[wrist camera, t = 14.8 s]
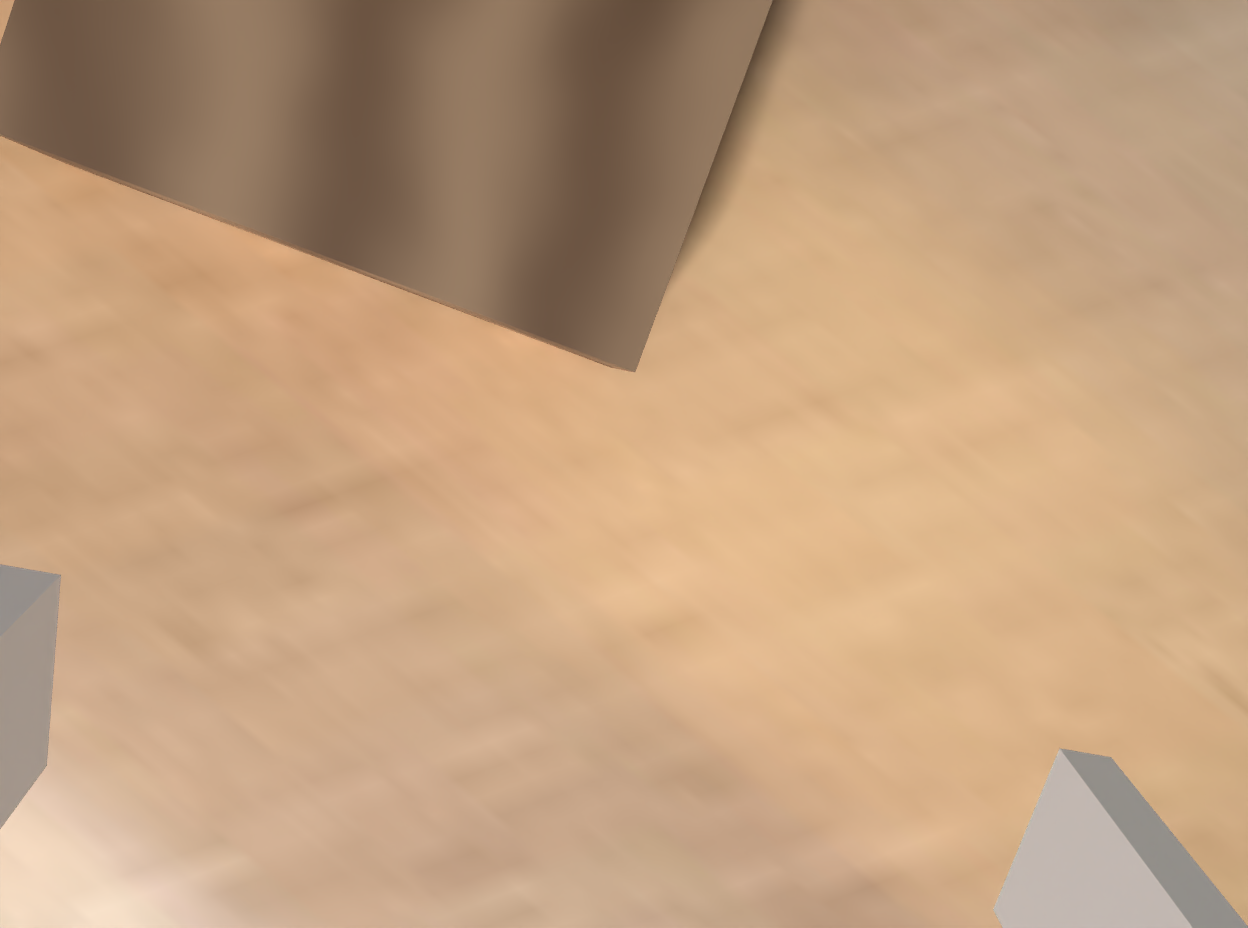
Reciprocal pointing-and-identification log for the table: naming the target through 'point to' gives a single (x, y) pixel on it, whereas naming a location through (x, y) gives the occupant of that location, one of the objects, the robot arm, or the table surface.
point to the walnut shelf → (409, 136)
